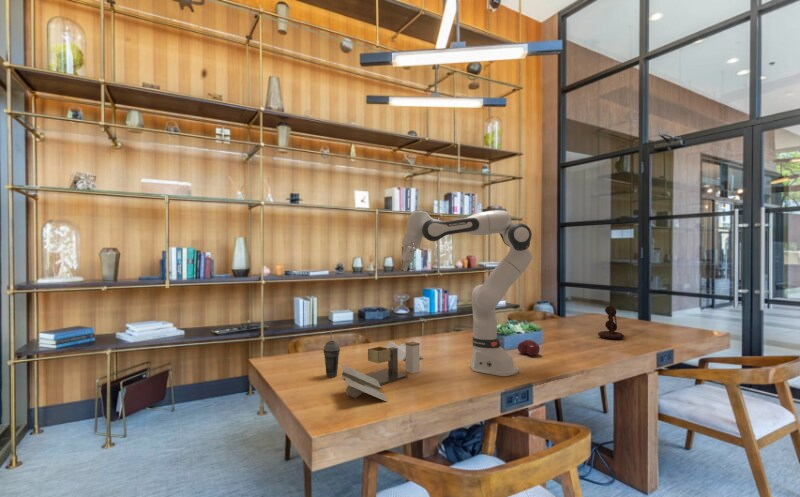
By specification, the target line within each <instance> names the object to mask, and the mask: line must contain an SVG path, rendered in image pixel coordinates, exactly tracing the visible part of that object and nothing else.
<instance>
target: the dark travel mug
mask: <svg viewBox="0 0 800 497" xmlns="http://www.w3.org/2000/svg"><path fill="white" fill-rule="evenodd" d="M329 335H330V340H329V341H327V342H326V343H325V344H324V347H323V350H322V351H323V355H324V363H325V365H324V366H325V374H326V378H329V379H332V378H336V377H338V369H339V357H340V356H339V355H340V346H339V343H337V341H334V340H332V339H333V338H332V330H330V331H329Z"/></svg>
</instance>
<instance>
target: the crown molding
mask: <svg viewBox="0 0 800 497" xmlns="http://www.w3.org/2000/svg"><path fill="white" fill-rule="evenodd" d="M391 347H395V348H398V360H400V361H401V362H403V361H406V345H405V343H404V342H403V343H402V342H401V344H400V345H397V344H396V343H395V342H393V341H390V342H389V343H388V344H387V345H386V347H385V348H391ZM419 357H420V359H424V357H423V356H422V355H421V354H419Z"/></svg>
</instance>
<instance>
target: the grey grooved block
mask: <svg viewBox="0 0 800 497" xmlns="http://www.w3.org/2000/svg"><path fill="white" fill-rule="evenodd" d="M341 368H342V373H341V377H342V380H343V381H344V382H345V385H347V387H346V388H345V393H346V394H345V395H347V396H349V397H352V398H354V399H357V398H358V397H360V395H361V394H362V393H365V394H368V395H369V396H370V395H371V396H372V397H375V398H377V399H380V400H382V401H385V402H388V400H387V397H386V395H385V394H384V393H383V392H380V390H381V389H382V387H381V386H382V385H381V386H380V384H379V382H378V380H376V379H374V378H372V377H369V376H367V375H365V373H363V372H361V371H358V370H355V369H353V368H351V367H349V366H346V365H344V364H341Z"/></svg>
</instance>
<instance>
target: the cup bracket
mask: <svg viewBox="0 0 800 497" xmlns="http://www.w3.org/2000/svg"><path fill="white" fill-rule="evenodd" d="M367 361H368V362H372V363H375V364H383V363H387V365H388V366H387V368H384V369H379V370H376V371H372V372H370V373H366V374H365V373H364V374H365V375H367V376H369V377H372V378H374V379H376V380H378V382H379V384H380V386H384V385H388V384H390V383H394V382H397V381H401V380H404V379H407V378H408V377H409V375H408V374H405V373H402V372H399V370H398V369H399V368H398V367H399V366H398V365H399V364H398V362H399V358H398V348H395V347H391V348H386V347H384V346H375V347H371V348H368V349H367Z"/></svg>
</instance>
